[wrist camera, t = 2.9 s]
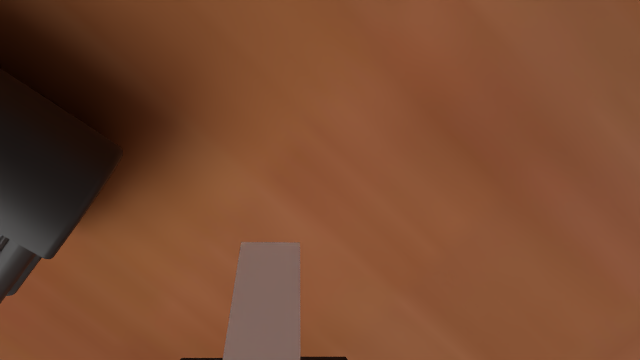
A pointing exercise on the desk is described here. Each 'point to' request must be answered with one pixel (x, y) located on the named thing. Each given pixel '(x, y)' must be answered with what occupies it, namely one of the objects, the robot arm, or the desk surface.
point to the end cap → (43, 178)
